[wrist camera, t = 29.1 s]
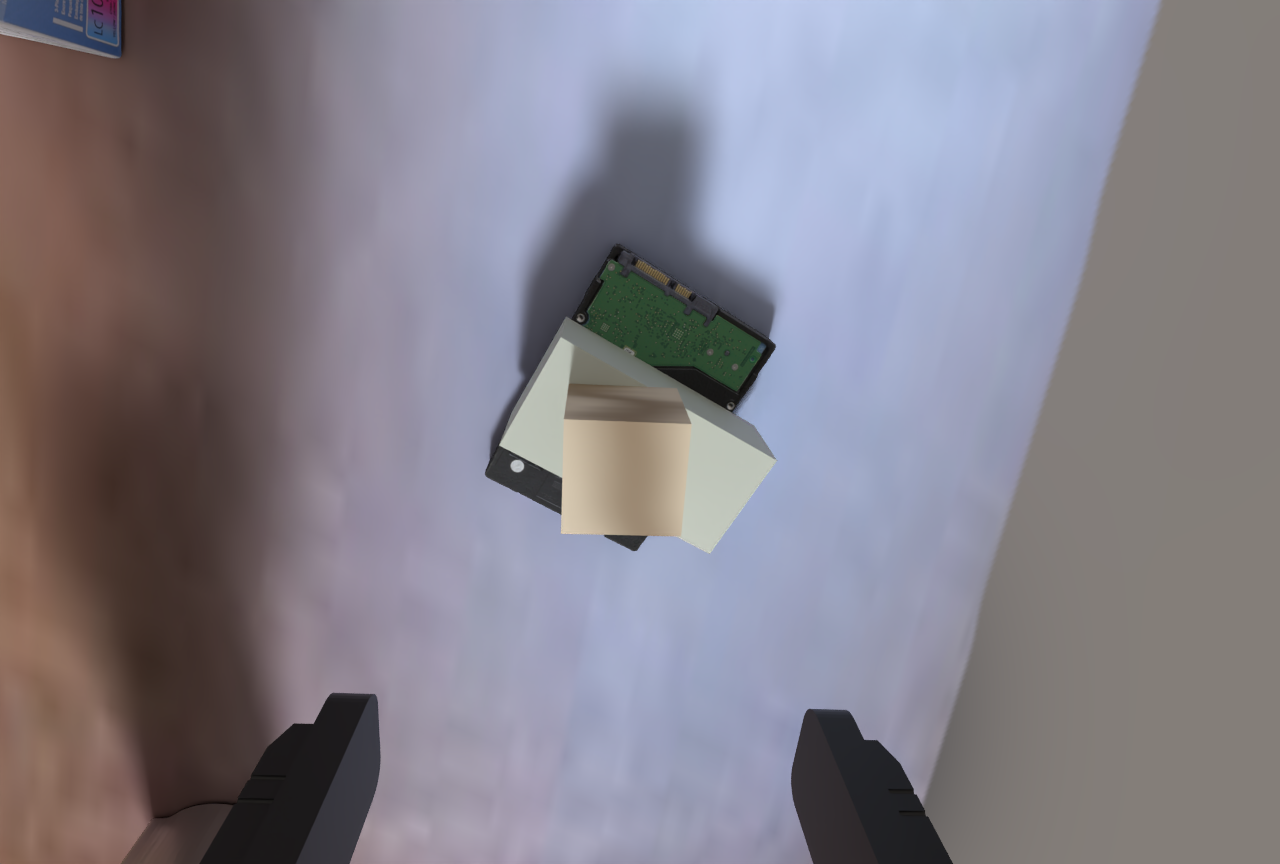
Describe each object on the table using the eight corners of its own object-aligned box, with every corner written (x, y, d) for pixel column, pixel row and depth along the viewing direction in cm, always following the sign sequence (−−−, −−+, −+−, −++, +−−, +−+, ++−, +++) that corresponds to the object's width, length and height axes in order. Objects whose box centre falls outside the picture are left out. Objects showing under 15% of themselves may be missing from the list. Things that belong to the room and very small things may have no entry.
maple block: (566, 482, 32) (561, 533, 27) (568, 383, 30) (563, 419, 25) (668, 485, 32) (681, 536, 27) (676, 388, 30) (691, 424, 26)
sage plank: (512, 411, 35) (499, 445, 31) (566, 316, 34) (560, 337, 29) (696, 509, 38) (709, 553, 34) (754, 425, 37) (777, 460, 32)
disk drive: (637, 531, 42) (768, 333, 37) (639, 555, 39) (781, 344, 35) (489, 458, 39) (611, 237, 35) (480, 478, 37) (612, 242, 32)
